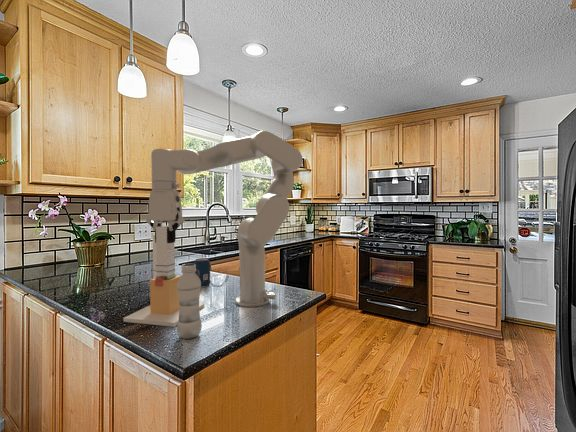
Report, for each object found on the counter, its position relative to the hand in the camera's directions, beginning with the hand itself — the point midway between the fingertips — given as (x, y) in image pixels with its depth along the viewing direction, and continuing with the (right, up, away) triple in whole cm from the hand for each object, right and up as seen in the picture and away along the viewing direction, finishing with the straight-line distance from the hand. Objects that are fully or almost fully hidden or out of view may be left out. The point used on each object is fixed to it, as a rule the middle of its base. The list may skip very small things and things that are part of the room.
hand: (165, 241), depth 100 cm
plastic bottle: (+13, -25, -17) cm, 33 cm away
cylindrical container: (-10, -24, +22) cm, 33 cm away
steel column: (0, -17, +1) cm, 17 cm away
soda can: (+2, -23, +36) cm, 43 cm away
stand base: (0, -24, +1) cm, 24 cm away
